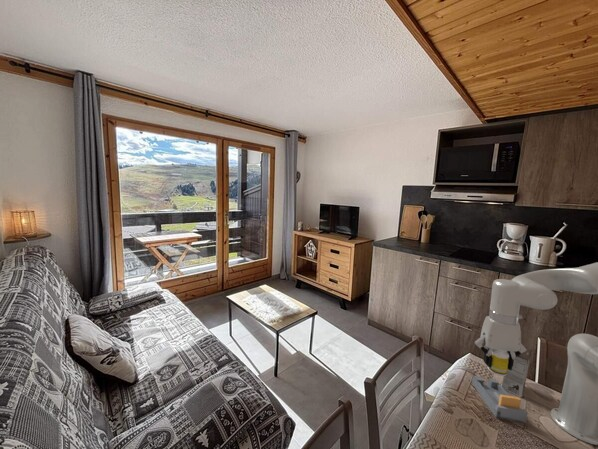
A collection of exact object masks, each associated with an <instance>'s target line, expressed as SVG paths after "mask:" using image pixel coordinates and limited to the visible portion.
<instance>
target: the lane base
mask: <svg viewBox="0 0 598 449" xmlns="http://www.w3.org/2000/svg"><path fill="white" fill-rule="evenodd" d="M471 378H472V379H471V384H472V386H473V387H474V388H475V390H476V391H477V392H478V394H479V395H480V397H481V398H482V399H483V401H484V402H485V404H486V405H487V407H488V409H489V410H490V411H491V413H492V414H493V415H494V417H495V418H497V419H502V420H508V421H513V422H518V423H524V424H526V423H527V416H528V410H526V409H524V408H513V407H507V406H500V405H498V401H497V400H496V399H495V397H494V396H493V392H497V393H498V395H499V396H500V394H501V395H507V396H511V395H510V394H509V393H508V391H506V390H505V389H504V388H503V387H502V384H501V383H500V382H499V381H498V380H497V379H496V378H490V377H489V378H488V382H487V383H485V381H484V380H485V379H483V377H482V376H477V375H474V376H473V377H471Z"/></svg>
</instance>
